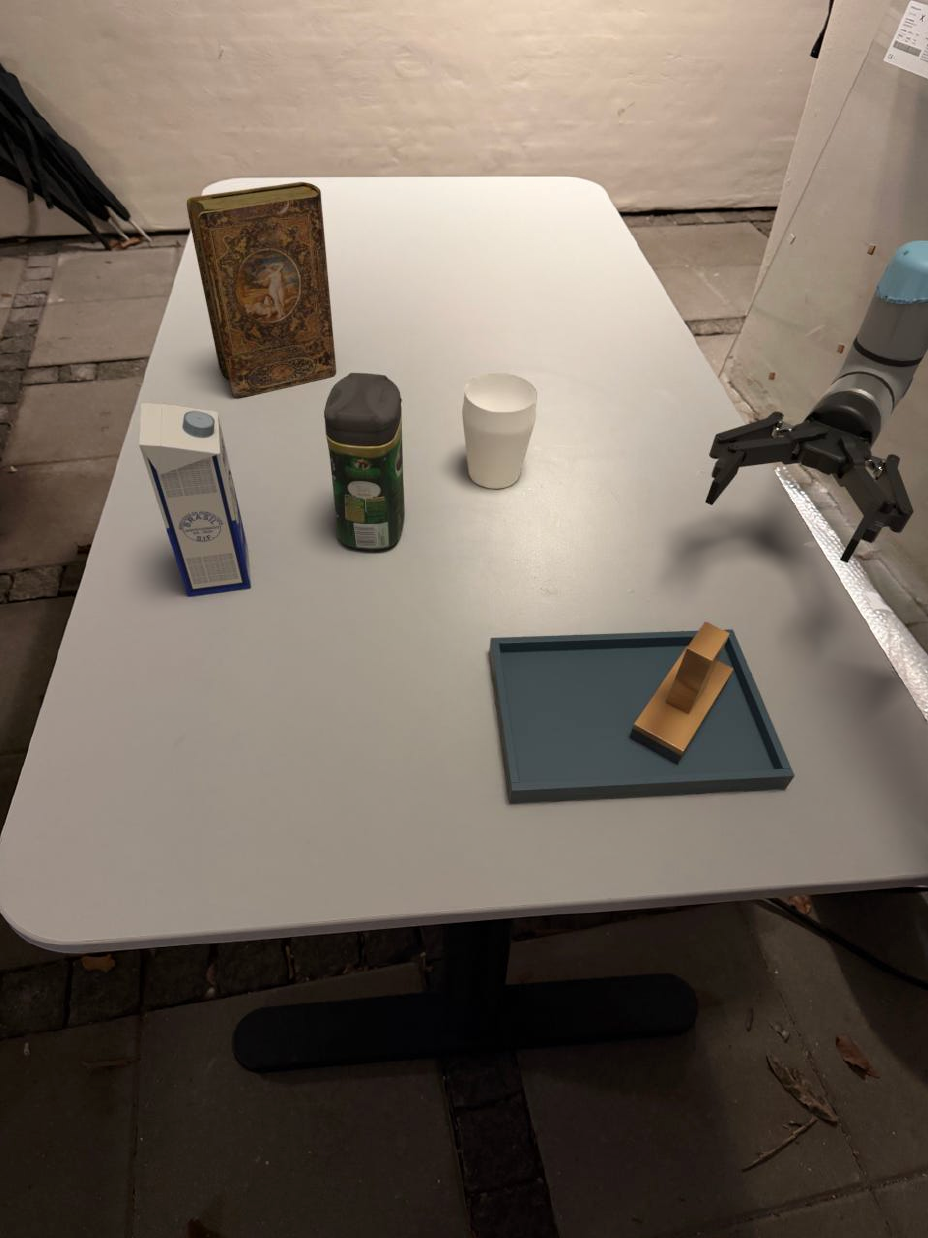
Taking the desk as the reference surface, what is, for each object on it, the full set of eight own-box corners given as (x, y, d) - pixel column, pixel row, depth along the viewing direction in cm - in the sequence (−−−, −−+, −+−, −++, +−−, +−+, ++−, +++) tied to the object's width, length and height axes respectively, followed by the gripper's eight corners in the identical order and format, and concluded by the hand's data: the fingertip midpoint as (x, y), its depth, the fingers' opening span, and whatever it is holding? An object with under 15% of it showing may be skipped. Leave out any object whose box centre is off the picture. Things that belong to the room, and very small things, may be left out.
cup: (538, 465, 103) (549, 383, 94) (512, 503, 97) (521, 421, 88) (476, 446, 105) (481, 365, 96) (447, 482, 99) (450, 400, 91)
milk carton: (187, 554, 88) (140, 399, 74) (247, 546, 90) (213, 393, 75) (187, 597, 84) (138, 443, 69) (251, 589, 85) (215, 435, 70)
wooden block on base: (727, 682, 78) (760, 613, 70) (677, 765, 71) (708, 698, 64) (681, 659, 80) (709, 589, 72) (628, 737, 73) (653, 669, 65)
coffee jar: (345, 499, 96) (332, 362, 83) (408, 503, 96) (406, 367, 82) (330, 551, 90) (314, 412, 76) (398, 556, 90) (394, 418, 76)
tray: (786, 789, 71) (795, 775, 69) (509, 804, 69) (511, 790, 67) (726, 643, 83) (733, 629, 81) (489, 652, 81) (490, 637, 79)
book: (327, 357, 119) (310, 180, 101) (341, 374, 116) (326, 194, 97) (222, 381, 113) (183, 197, 95) (233, 399, 110) (196, 213, 92)
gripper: (945, 493, 84) (893, 606, 72) (729, 412, 93) (652, 500, 81) (982, 434, 79) (932, 546, 67) (749, 354, 88) (669, 440, 76)
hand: (778, 521), depth 74 cm, fingers open, 13 cm apart
